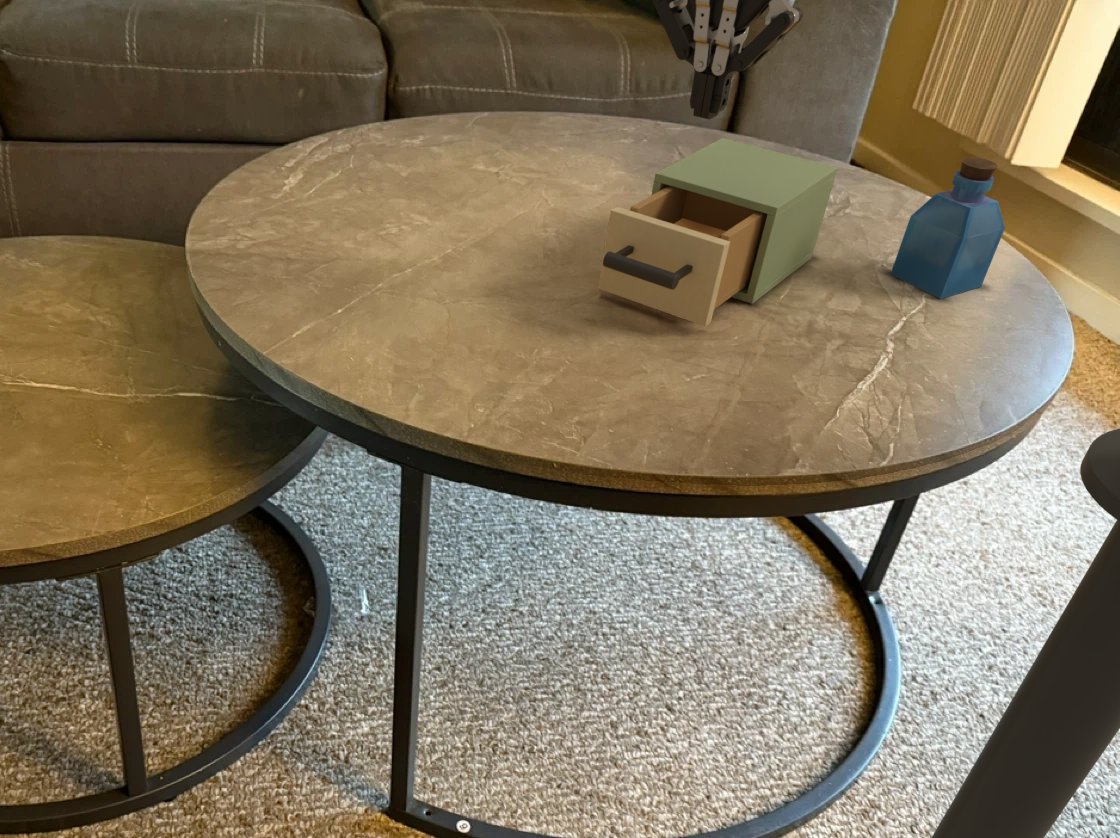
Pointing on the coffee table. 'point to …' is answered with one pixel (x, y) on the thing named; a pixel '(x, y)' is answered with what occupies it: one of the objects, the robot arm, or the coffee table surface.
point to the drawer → (680, 253)
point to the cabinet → (761, 201)
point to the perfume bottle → (953, 235)
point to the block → (700, 227)
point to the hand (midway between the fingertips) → (706, 115)
